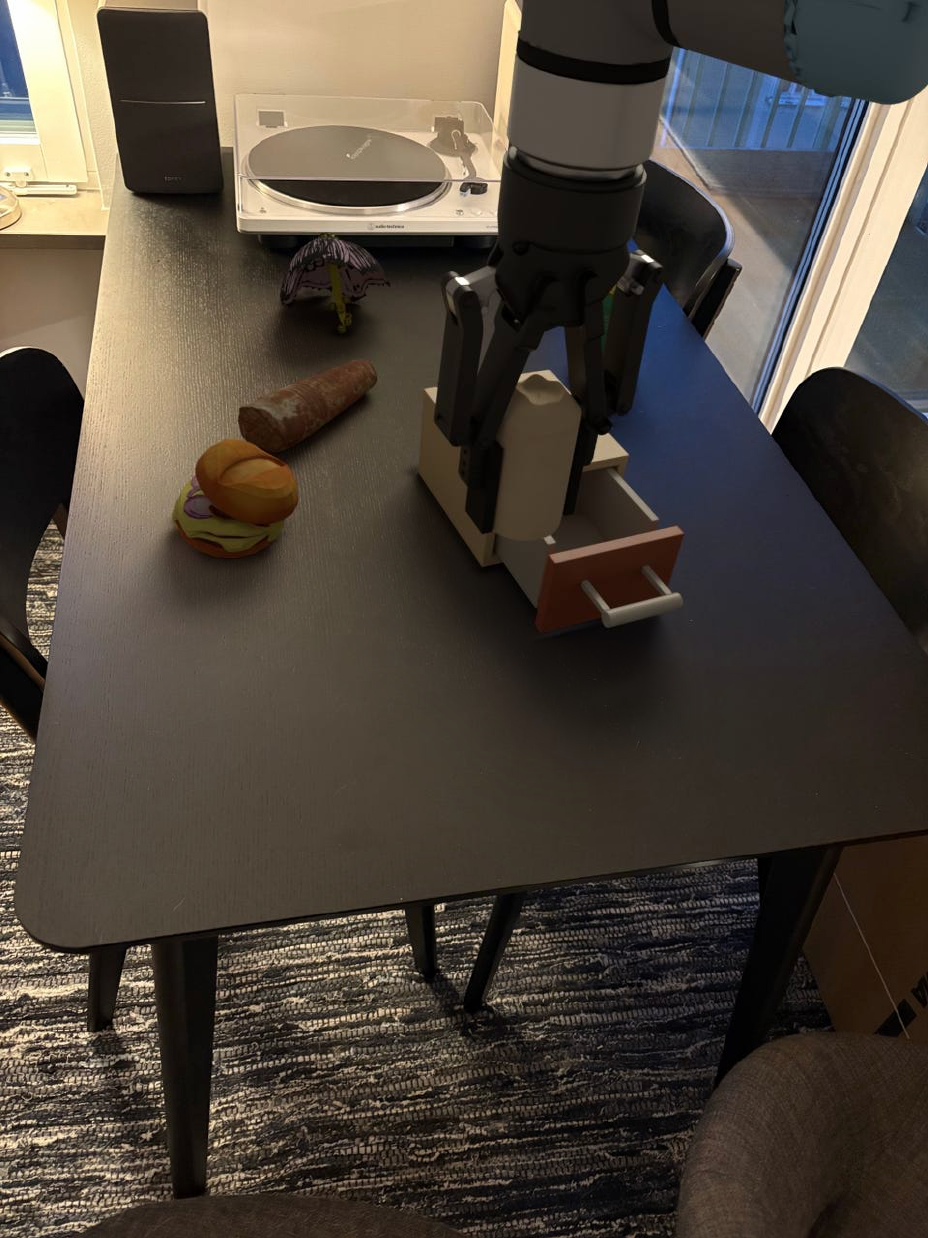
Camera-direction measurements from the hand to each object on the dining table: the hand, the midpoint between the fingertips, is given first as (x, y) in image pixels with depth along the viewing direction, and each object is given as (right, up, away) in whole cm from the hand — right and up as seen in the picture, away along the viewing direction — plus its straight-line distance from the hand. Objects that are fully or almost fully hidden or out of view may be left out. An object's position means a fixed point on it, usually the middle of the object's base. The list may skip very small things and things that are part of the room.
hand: (519, 511), depth 66 cm
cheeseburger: (-25, +1, +25) cm, 35 cm away
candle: (0, 0, 0) cm, 0 cm away
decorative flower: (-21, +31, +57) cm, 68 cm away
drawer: (+7, -4, +22) cm, 24 cm away
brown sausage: (-20, +15, +40) cm, 47 cm away
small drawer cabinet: (+1, +4, +32) cm, 32 cm away
